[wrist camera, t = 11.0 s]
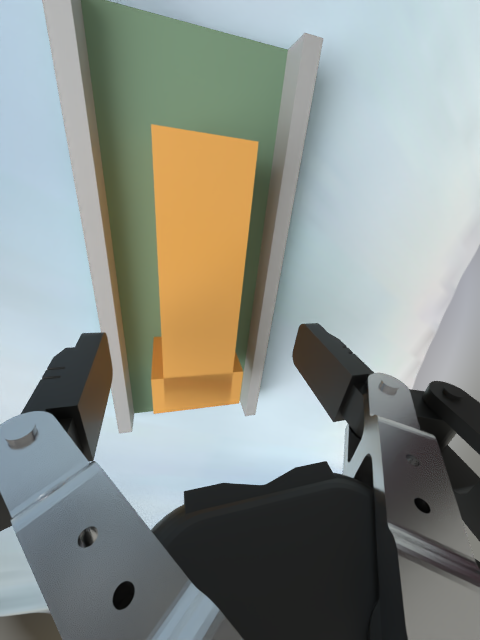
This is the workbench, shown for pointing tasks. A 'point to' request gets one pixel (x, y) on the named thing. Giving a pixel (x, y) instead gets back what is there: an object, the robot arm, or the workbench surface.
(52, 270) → the workbench surface
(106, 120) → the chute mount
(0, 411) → the workbench surface
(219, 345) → the chute
